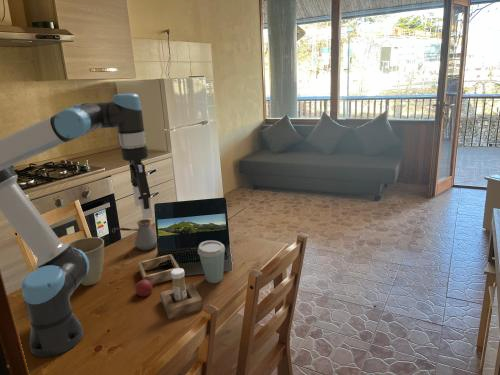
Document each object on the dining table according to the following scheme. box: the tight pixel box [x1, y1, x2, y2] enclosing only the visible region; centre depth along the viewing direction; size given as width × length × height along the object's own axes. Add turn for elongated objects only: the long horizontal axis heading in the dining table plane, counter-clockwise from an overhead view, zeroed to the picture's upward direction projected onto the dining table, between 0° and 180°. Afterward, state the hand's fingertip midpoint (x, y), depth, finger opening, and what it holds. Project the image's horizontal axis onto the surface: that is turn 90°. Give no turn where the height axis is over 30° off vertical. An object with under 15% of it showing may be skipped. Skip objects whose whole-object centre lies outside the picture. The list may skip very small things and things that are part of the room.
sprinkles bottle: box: [171, 267, 188, 303], centre depth 135 cm, size 5×5×13 cm
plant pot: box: [68, 236, 105, 287], centre depth 154 cm, size 15×15×16 cm
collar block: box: [159, 283, 204, 320], centre depth 136 cm, size 12×12×4 cm
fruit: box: [134, 279, 153, 298], centre depth 143 cm, size 6×6×8 cm
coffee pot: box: [111, 218, 158, 251], centre depth 178 cm, size 21×12×15 cm, turn 137°
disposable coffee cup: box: [197, 240, 226, 284], centre depth 149 cm, size 11×11×15 cm
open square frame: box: [137, 254, 181, 286], centre depth 158 cm, size 14×14×4 cm
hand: (143, 211), depth 124 cm, fingers open, 13 cm apart
